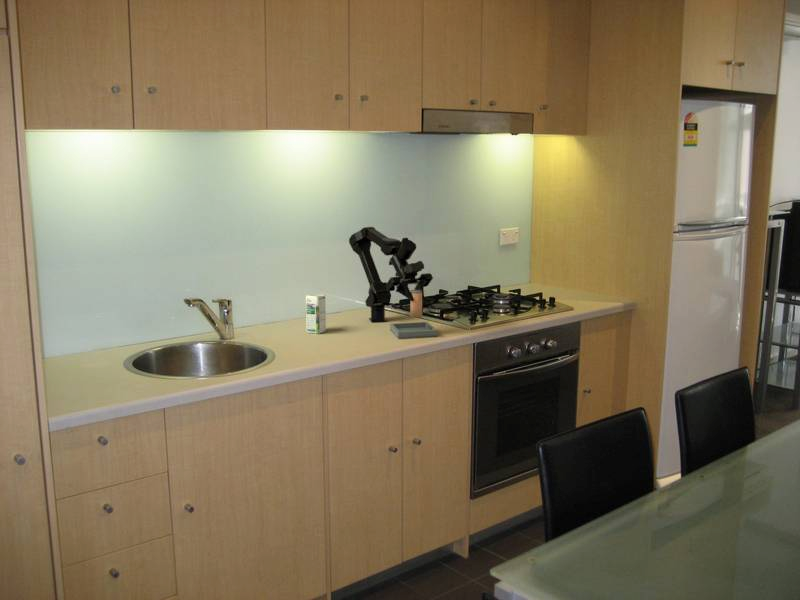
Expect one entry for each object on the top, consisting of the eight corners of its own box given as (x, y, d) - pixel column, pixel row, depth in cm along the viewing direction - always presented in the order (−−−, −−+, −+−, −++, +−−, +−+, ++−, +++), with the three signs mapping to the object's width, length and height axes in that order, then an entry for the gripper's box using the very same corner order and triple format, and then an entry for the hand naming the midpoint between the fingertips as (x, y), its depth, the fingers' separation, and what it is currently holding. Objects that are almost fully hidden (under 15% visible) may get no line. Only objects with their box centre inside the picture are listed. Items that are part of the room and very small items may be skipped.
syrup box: (305, 332, 306) (304, 296, 304) (314, 329, 311) (313, 293, 309) (318, 334, 304) (317, 297, 301) (326, 331, 309) (325, 294, 306)
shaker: (408, 316, 302) (408, 290, 300) (414, 314, 305) (414, 289, 303) (418, 318, 299) (418, 292, 297) (424, 315, 303) (424, 290, 301)
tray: (390, 329, 310) (390, 323, 310) (427, 327, 313) (427, 321, 313) (398, 339, 296) (398, 332, 295) (437, 336, 299) (437, 330, 298)
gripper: (389, 256, 296) (405, 290, 289) (430, 252, 306) (447, 284, 299) (378, 274, 304) (394, 307, 297) (418, 269, 314) (434, 301, 307)
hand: (418, 299), depth 300 cm, fingers closed on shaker, 4 cm apart
